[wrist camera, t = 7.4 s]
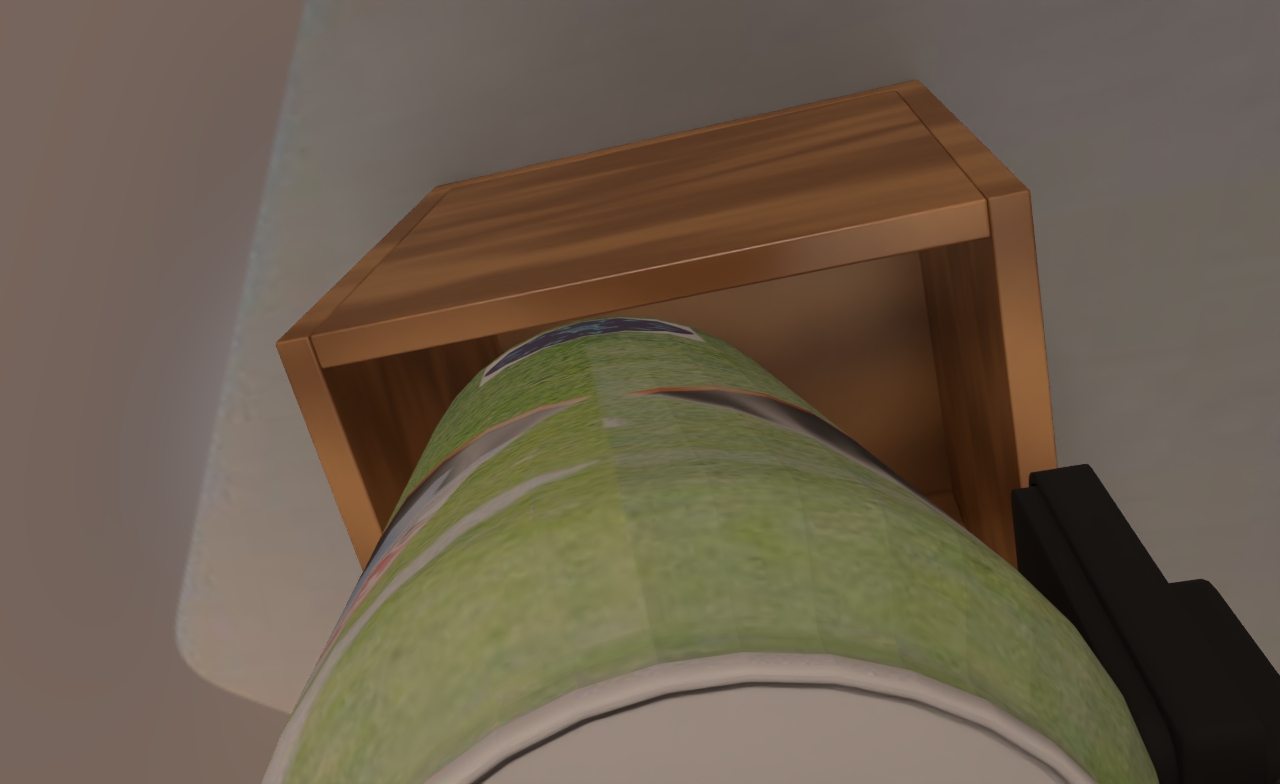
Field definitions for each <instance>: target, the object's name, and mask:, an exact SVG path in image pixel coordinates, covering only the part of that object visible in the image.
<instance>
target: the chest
mask: <svg viewBox="0 0 1280 784" xmlns="http://www.w3.org/2000/svg"><path fill="white" fill-rule="evenodd" d="M612 316H629V317H647V318H657V319H661V320H666V321H670V322H674V323H679V324H683V325H687V326H691V327H693V328H696V329H698V330H700V331H703V332H705V333H707V334H710V335H712V336H714V337H717V338H719V339H721V340H724V341H725V342H727V343H728V344H730V345H731V346H733V347H735V348H736V349H738V350H739V351H741V352H742V353H744V354H745V355H747V356H748V357H750V358H751V359H753V360H754V361H756V362H757V363H758V364H759V365H761V366H762V367H763V368H764V369H766V370H767V371H768V372H769V373H771V374H772V375H773V376H774V377H776V378H777V379H778V380H779V381H781V382H782V383H783V384H784V385H786V386H787V387H788V388H789V389H791V390H792V391H793V392H794V393H796V394H797V395H798V396H799V397H801V398H802V399H803V400H804V401H806V402H807V403H808V404H809V405H811V406H812V407H813V408H815V409H816V410H817V411H818V412H820V413H821V414H822V415H823V416H825V417H826V418H827V419H828V420H830V421H831V422H832V423H833V424H835V425H836V426H837V427H838V428H840V429H841V430H842V431H843V432H845V433H846V434H847V435H848V436H850V437H851V438H852V439H853V440H855V441H856V442H857V443H858V444H860V445H861V446H862V447H863V448H865V449H866V450H867V451H868V452H870V453H871V454H872V455H873V456H875V457H876V458H877V459H879V460H880V461H881V462H882V463H884V464H885V465H886V466H887V467H889V468H890V469H891V470H892V471H894V472H895V473H896V474H897V475H899V476H900V477H901V478H902V479H904V480H905V481H906V482H907V483H909V484H910V485H911V486H912V487H914V488H915V489H916V490H917V491H919V492H920V493H921V494H922V495H924V496H925V497H926V498H927V499H929V500H930V501H931V502H932V503H934V504H935V505H936V506H937V507H939V508H940V509H941V510H943V511H944V512H945V513H946V514H948V515H949V516H950V517H951V518H953V519H954V520H955V521H956V522H958V523H959V524H960V525H961V526H963V527H964V528H965V529H966V530H968V531H969V532H970V533H971V534H973V535H974V536H975V537H976V538H978V539H979V540H980V541H981V542H983V543H984V544H985V545H986V546H988V547H989V548H990V549H991V550H993V551H994V552H995V553H996V554H998V555H999V556H1000V557H1001V558H1003V559H1004V560H1005V561H1006V562H1008V563H1009V564H1010V565H1012V566H1013V567H1014V568H1015V569H1016V570H1017V571H1018V566H1017V556H1016V546H1015V536H1014V526H1013V517H1012V507H1011V492H1012V490H1013V489H1019V488H1026V487H1029V475H1030V473H1031V472H1037V471H1043V470H1050V469H1056V468H1058V467H1057V457H1056V447H1055V437H1054V427H1053V417H1052V406H1051V396H1050V386H1049V376H1048V366H1047V356H1046V346H1045V336H1044V326H1043V316H1042V306H1041V296H1040V286H1039V275H1038V265H1037V255H1036V245H1035V235H1034V225H1033V215H1032V205H1031V195H1030V191H1029V189H1028V188H1027V187H1026V186H1025V185H1024V184H1023V183H1022V182H1021V181H1020V180H1019V179H1018V178H1017V177H1016V176H1015V175H1014V174H1013V173H1012V172H1011V171H1010V170H1009V169H1008V168H1007V167H1006V166H1005V165H1004V164H1003V163H1002V162H1001V161H1000V160H999V159H998V158H997V157H996V156H995V155H994V154H992V153H991V152H990V151H989V150H988V149H987V148H986V147H985V146H984V145H983V144H982V143H981V142H980V141H979V140H978V139H977V138H976V137H975V136H974V135H973V134H972V133H971V132H970V131H969V130H968V129H967V128H966V127H965V126H964V125H963V124H962V123H961V122H960V121H959V120H958V119H957V118H956V117H955V116H954V115H953V114H952V113H951V112H950V111H949V110H948V109H947V108H946V107H945V106H944V105H943V104H942V103H941V102H940V101H939V100H938V99H937V98H936V97H935V96H934V95H933V94H932V93H931V92H930V91H929V90H928V89H927V88H926V87H925V86H924V85H923V84H921V83H920V82H919V81H918V80H914V81H909V82H905V83H900V84H896V85H891V86H887V87H882V88H878V89H873V90H869V91H864V92H860V93H855V94H851V95H846V96H842V97H837V98H833V99H828V100H824V101H819V102H815V103H810V104H806V105H801V106H797V107H792V108H788V109H783V110H779V111H774V112H770V113H765V114H760V115H756V116H751V117H747V118H742V119H738V120H733V121H729V122H724V123H720V124H715V125H711V126H706V127H702V128H697V129H693V130H688V131H684V132H679V133H675V134H670V135H666V136H661V137H657V138H652V139H648V140H643V141H639V142H634V143H630V144H625V145H621V146H616V147H612V148H607V149H603V150H598V151H594V152H589V153H585V154H580V155H576V156H571V157H567V158H562V159H558V160H553V161H549V162H544V163H540V164H535V165H531V166H526V167H522V168H517V169H513V170H508V171H504V172H499V173H495V174H490V175H486V176H481V177H477V178H472V179H468V180H463V181H459V182H454V183H450V184H445V185H441V186H437V187H435V188H434V189H433V190H432V191H431V192H430V193H429V194H428V195H427V196H426V197H425V198H424V199H423V200H422V201H421V202H420V203H419V204H418V205H417V206H416V207H414V208H413V209H412V210H411V211H410V212H409V213H408V214H407V215H406V216H405V217H404V218H403V219H402V220H401V221H400V222H399V223H398V224H397V225H396V226H395V227H394V228H393V229H392V230H391V231H390V232H389V233H388V234H387V235H386V236H385V237H384V238H383V239H382V240H381V241H380V242H379V243H378V244H377V245H376V246H375V247H374V248H373V249H371V250H370V251H369V252H368V253H367V254H366V255H365V256H364V257H363V258H362V259H361V260H360V261H359V262H358V263H357V264H356V265H355V266H354V267H353V268H352V269H351V270H350V271H349V272H348V273H347V274H346V275H345V276H344V277H343V278H342V279H341V280H340V281H339V282H338V283H337V284H336V285H335V286H334V287H333V288H332V289H331V290H330V291H328V292H327V293H326V294H325V295H324V296H323V297H322V298H321V299H320V300H319V301H318V302H317V303H316V304H315V305H314V306H313V307H312V308H311V309H310V310H309V311H308V312H307V313H306V314H305V315H304V316H303V317H302V318H301V319H300V320H299V321H298V322H297V323H296V324H295V325H294V326H293V327H292V328H291V329H290V330H289V331H288V332H287V333H285V334H284V335H283V336H282V337H281V338H280V339H279V340H278V341H277V342H276V347H277V350H278V352H279V355H280V358H281V360H282V363H283V365H284V368H285V371H286V373H287V376H288V378H289V381H290V383H291V386H292V389H293V391H294V394H295V396H296V399H297V402H298V404H299V407H300V409H301V412H302V415H303V417H304V420H305V422H306V425H307V427H308V430H309V433H310V435H311V438H312V440H313V443H314V446H315V448H316V451H317V453H318V456H319V459H320V461H321V464H322V466H323V469H324V471H325V474H326V477H327V479H328V482H329V484H330V487H331V490H332V492H333V495H334V497H335V500H336V503H337V505H338V508H339V510H340V513H341V515H342V518H343V521H344V523H345V526H346V528H347V531H348V534H349V536H350V539H351V541H352V544H353V547H354V549H355V552H356V554H357V557H358V559H359V562H360V565H361V567H362V570H363V571H364V569H365V567H366V565H367V563H368V561H369V559H370V557H371V555H372V553H373V551H374V549H375V547H376V545H377V543H378V541H379V539H380V537H381V535H382V533H383V531H384V529H385V527H386V525H387V523H388V521H389V519H390V517H391V515H392V513H393V512H394V510H395V508H396V506H397V504H398V502H399V500H400V498H401V496H402V494H403V492H404V490H405V488H406V486H407V484H408V482H409V480H410V478H411V476H412V474H413V472H414V470H415V468H416V466H417V464H418V462H419V460H420V458H421V456H422V454H423V452H424V450H425V448H426V446H427V444H428V442H429V440H430V438H431V436H432V434H433V432H434V430H435V428H436V427H437V425H438V424H439V422H440V421H441V419H442V418H443V416H444V414H445V413H446V411H447V410H448V408H449V407H450V405H451V404H452V402H453V400H454V399H455V398H456V396H457V395H458V394H459V393H460V392H461V391H462V390H463V389H464V388H465V387H466V386H467V385H468V384H469V383H470V381H471V380H472V379H473V378H474V377H475V376H476V375H477V374H478V373H479V372H480V371H481V370H482V369H484V368H485V367H486V366H488V365H489V364H490V363H492V362H493V361H494V360H496V359H497V358H498V357H500V356H501V355H502V354H504V353H505V352H506V351H508V350H509V349H510V348H512V347H514V346H516V345H518V344H520V343H522V342H524V341H526V340H528V339H530V338H532V337H534V336H536V335H538V334H540V333H542V332H544V331H547V330H550V329H553V328H557V327H560V326H563V325H567V324H570V323H573V322H576V321H580V320H588V319H596V318H604V317H612Z"/></svg>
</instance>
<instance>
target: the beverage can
mask: <svg viewBox="0 0 1280 784" xmlns="http://www.w3.org/2000/svg"><path fill="white" fill-rule="evenodd" d="M261 784H1159V781H1158V777H1157V773H1156V770H1155V768H1154V765H1153V763H1152V761H1151V758H1150V756H1149V754H1148V752H1147V749H1146V747H1145V745H1144V743H1143V740H1142V738H1141V736H1140V733H1139V731H1138V729H1137V727H1136V724H1135V722H1134V720H1133V717H1132V715H1131V713H1130V711H1129V708H1128V706H1127V704H1126V702H1125V699H1124V697H1123V695H1122V694H1121V692H1120V690H1119V689H1118V687H1117V686H1116V685H1115V683H1114V682H1113V680H1112V679H1111V677H1110V676H1109V675H1108V673H1107V672H1106V670H1105V669H1104V667H1103V666H1102V665H1101V663H1100V662H1099V660H1098V659H1097V657H1096V656H1095V655H1094V653H1093V652H1092V650H1091V649H1090V647H1089V646H1088V644H1087V643H1086V642H1085V640H1084V639H1083V637H1082V636H1081V634H1080V633H1079V632H1078V630H1077V629H1076V627H1075V626H1074V625H1073V624H1072V623H1071V622H1070V621H1069V620H1068V619H1067V618H1066V617H1065V616H1064V615H1063V614H1062V613H1061V612H1060V611H1059V610H1058V609H1057V608H1056V607H1055V606H1054V605H1053V604H1051V603H1050V602H1049V601H1048V600H1047V599H1046V598H1045V597H1044V596H1043V595H1042V594H1041V593H1040V592H1039V591H1038V590H1037V589H1036V588H1035V587H1034V586H1033V585H1032V584H1031V583H1030V582H1029V581H1028V580H1027V579H1026V578H1025V577H1024V576H1023V575H1021V574H1020V573H1019V572H1018V571H1017V570H1016V569H1015V568H1014V567H1013V566H1012V565H1010V564H1009V563H1008V562H1006V561H1005V560H1004V559H1003V558H1001V557H1000V556H999V555H998V554H996V553H995V552H994V551H993V550H991V549H990V548H989V547H988V546H986V545H985V544H984V543H983V542H981V541H980V540H979V539H978V538H976V537H975V536H974V535H973V534H971V533H970V532H969V531H968V530H966V529H965V528H964V527H963V526H961V525H960V524H959V523H958V522H956V521H955V520H954V519H953V518H951V517H950V516H949V515H948V514H946V513H945V512H944V511H943V510H941V509H940V508H939V507H937V506H936V505H935V504H934V503H932V502H931V501H930V500H929V499H927V498H926V497H925V496H924V495H922V494H921V493H920V492H919V491H917V490H916V489H915V488H914V487H912V486H911V485H910V484H909V483H907V482H906V481H905V480H904V479H902V478H901V477H900V476H899V475H897V474H896V473H895V472H894V471H892V470H891V469H890V468H889V467H887V466H886V465H885V464H884V463H882V462H881V461H880V460H879V459H877V458H876V457H875V456H873V455H872V454H871V453H870V452H868V451H867V450H866V449H865V448H863V447H862V446H861V445H860V444H858V443H857V442H856V441H855V440H853V439H852V438H851V437H850V436H848V435H847V434H846V433H845V432H843V431H842V430H841V429H840V428H838V427H837V426H836V425H835V424H833V423H832V422H831V421H830V420H828V419H827V418H826V417H825V416H823V415H822V414H821V413H820V412H818V411H817V410H816V409H815V408H813V407H812V406H811V405H809V404H808V403H807V402H806V401H804V400H803V399H802V398H801V397H799V396H798V395H797V394H796V393H794V392H793V391H792V390H791V389H789V388H788V387H787V386H786V385H784V384H783V383H782V382H781V381H779V380H778V379H777V378H776V377H774V376H773V375H772V374H771V373H769V372H768V371H767V370H766V369H764V368H763V367H762V366H761V365H759V364H758V363H757V362H756V361H754V360H753V359H751V358H750V357H748V356H747V355H745V354H744V353H742V352H741V351H739V350H738V349H736V348H735V347H733V346H731V345H730V344H728V343H727V342H725V341H724V340H721V339H719V338H717V337H714V336H712V335H710V334H707V333H705V332H703V331H700V330H698V329H696V328H693V327H691V326H687V325H683V324H679V323H674V322H670V321H666V320H661V319H657V318H647V317H629V316H612V317H604V318H596V319H588V320H580V321H576V322H573V323H570V324H567V325H563V326H560V327H557V328H553V329H550V330H547V331H544V332H542V333H540V334H538V335H536V336H534V337H532V338H530V339H528V340H526V341H524V342H522V343H520V344H518V345H516V346H514V347H512V348H510V349H509V350H508V351H506V352H505V353H504V354H502V355H501V356H500V357H498V358H497V359H496V360H494V361H493V362H492V363H490V364H489V365H488V366H486V367H485V368H484V369H482V370H481V371H480V372H479V373H478V374H477V375H476V376H475V377H474V378H473V379H472V380H471V381H470V383H469V384H468V385H467V386H466V387H465V388H464V389H463V390H462V391H461V392H460V393H459V394H458V395H457V396H456V398H455V399H454V400H453V402H452V404H451V405H450V407H449V408H448V410H447V411H446V413H445V414H444V416H443V418H442V419H441V421H440V422H439V424H438V425H437V427H436V428H435V430H434V432H433V434H432V436H431V438H430V440H429V442H428V444H427V446H426V448H425V450H424V452H423V454H422V456H421V458H420V460H419V462H418V464H417V466H416V468H415V470H414V472H413V474H412V476H411V478H410V480H409V482H408V484H407V486H406V488H405V490H404V492H403V494H402V496H401V498H400V500H399V502H398V504H397V506H396V508H395V510H394V512H393V513H392V515H391V517H390V519H389V521H388V523H387V525H386V527H385V529H384V531H383V533H382V535H381V537H380V539H379V541H378V543H377V545H376V547H375V549H374V551H373V553H372V555H371V557H370V559H369V561H368V563H367V565H366V567H365V569H364V571H363V573H362V575H361V577H360V579H359V581H358V583H357V585H356V587H355V589H354V591H353V593H352V595H351V597H350V599H349V601H348V603H347V605H346V607H345V609H344V611H343V613H342V615H341V617H340V619H339V621H338V623H337V625H336V627H335V628H334V630H333V632H332V634H331V636H330V638H329V640H328V642H327V644H326V646H325V648H324V650H323V652H322V654H321V656H320V658H319V660H318V662H317V664H316V666H315V668H314V670H313V672H312V674H311V676H310V678H309V680H308V682H307V684H306V686H305V688H304V690H303V692H302V694H301V696H300V698H299V700H298V702H297V704H296V706H295V708H294V710H293V712H292V714H291V716H290V718H289V720H288V722H287V724H286V726H285V728H284V730H283V732H282V734H281V736H280V739H279V741H278V744H277V746H276V749H275V751H274V753H273V756H272V758H271V761H270V763H269V765H268V768H267V770H266V773H265V775H264V778H263V780H262V783H261Z"/></svg>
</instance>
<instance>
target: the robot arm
mask: <svg viewBox="0 0 1280 784" xmlns="http://www.w3.org/2000/svg"><path fill="white" fill-rule="evenodd" d="M1011 507H1012V517H1013V526H1014V536H1015V546H1016V556H1017V566H1018V572H1019V573H1020V574H1021V575H1023V576H1024V577H1025V578H1026V579H1027V580H1028V581H1029V582H1030V583H1031V584H1032V585H1033V586H1034V587H1035V588H1036V589H1037V590H1038V591H1039V592H1040V593H1041V594H1042V595H1043V596H1044V597H1045V598H1046V599H1047V600H1048V601H1049V602H1050V603H1051V604H1053V605H1054V606H1055V607H1056V608H1057V609H1058V610H1059V611H1060V612H1061V613H1062V614H1063V615H1064V616H1065V617H1066V618H1067V619H1068V620H1069V621H1070V622H1071V623H1072V624H1073V625H1074V626H1075V627H1076V629H1077V630H1078V632H1079V633H1080V634H1081V636H1082V637H1083V639H1084V640H1085V642H1086V643H1087V644H1088V646H1089V647H1090V649H1091V650H1092V652H1093V653H1094V655H1095V656H1096V657H1097V659H1098V660H1099V662H1100V663H1101V665H1102V666H1103V667H1104V669H1105V670H1106V672H1107V673H1108V675H1109V676H1110V677H1111V679H1112V680H1113V682H1114V683H1115V685H1116V686H1117V687H1118V689H1119V690H1120V692H1121V694H1122V695H1123V697H1124V699H1125V702H1126V704H1127V706H1128V708H1129V711H1130V713H1131V715H1132V717H1133V720H1134V722H1135V724H1136V727H1137V729H1138V731H1139V733H1140V736H1141V738H1142V740H1143V743H1144V745H1145V747H1146V749H1147V752H1148V754H1149V756H1150V758H1151V761H1152V763H1153V765H1154V768H1155V770H1156V773H1157V777H1158V781H1159V784H1280V676H1279V674H1278V673H1277V671H1276V670H1275V669H1274V667H1273V666H1272V665H1271V663H1270V662H1269V661H1268V659H1267V658H1266V656H1265V655H1264V654H1263V652H1262V651H1261V650H1260V648H1259V647H1258V645H1257V644H1256V643H1255V641H1254V640H1253V639H1252V637H1251V636H1250V635H1249V633H1248V632H1247V630H1246V629H1245V628H1244V626H1243V625H1242V624H1241V622H1240V621H1239V620H1238V618H1237V617H1236V615H1235V614H1234V613H1233V611H1232V610H1231V609H1230V607H1229V606H1228V604H1227V603H1226V602H1225V600H1224V599H1223V598H1222V596H1221V595H1220V594H1219V592H1218V591H1217V590H1216V589H1215V587H1214V586H1213V585H1212V584H1211V583H1210V582H1209V581H1206V580H1203V579H1197V580H1189V581H1182V582H1175V583H1168V582H1167V580H1166V579H1165V577H1164V576H1163V574H1162V573H1161V571H1160V570H1159V568H1158V567H1157V565H1156V564H1155V562H1154V561H1153V559H1152V558H1151V556H1150V555H1149V553H1148V552H1147V550H1146V549H1145V547H1144V546H1143V544H1142V543H1141V541H1140V540H1139V538H1138V537H1137V535H1136V534H1135V532H1134V531H1133V529H1132V528H1131V526H1130V525H1129V523H1128V522H1127V520H1126V519H1125V517H1124V516H1123V514H1122V513H1121V511H1120V510H1119V508H1118V507H1117V505H1116V504H1115V502H1114V501H1113V499H1112V498H1111V496H1110V495H1109V493H1108V492H1107V490H1106V489H1105V487H1104V486H1103V484H1102V483H1101V481H1100V480H1099V478H1098V477H1097V475H1096V474H1095V472H1094V471H1093V469H1092V468H1091V467H1090V466H1089V465H1088V464H1082V465H1076V466H1069V467H1063V468H1056V469H1050V470H1043V471H1037V472H1031V473H1030V475H1029V487H1026V488H1019V489H1013V490H1012V492H1011Z"/></svg>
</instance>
